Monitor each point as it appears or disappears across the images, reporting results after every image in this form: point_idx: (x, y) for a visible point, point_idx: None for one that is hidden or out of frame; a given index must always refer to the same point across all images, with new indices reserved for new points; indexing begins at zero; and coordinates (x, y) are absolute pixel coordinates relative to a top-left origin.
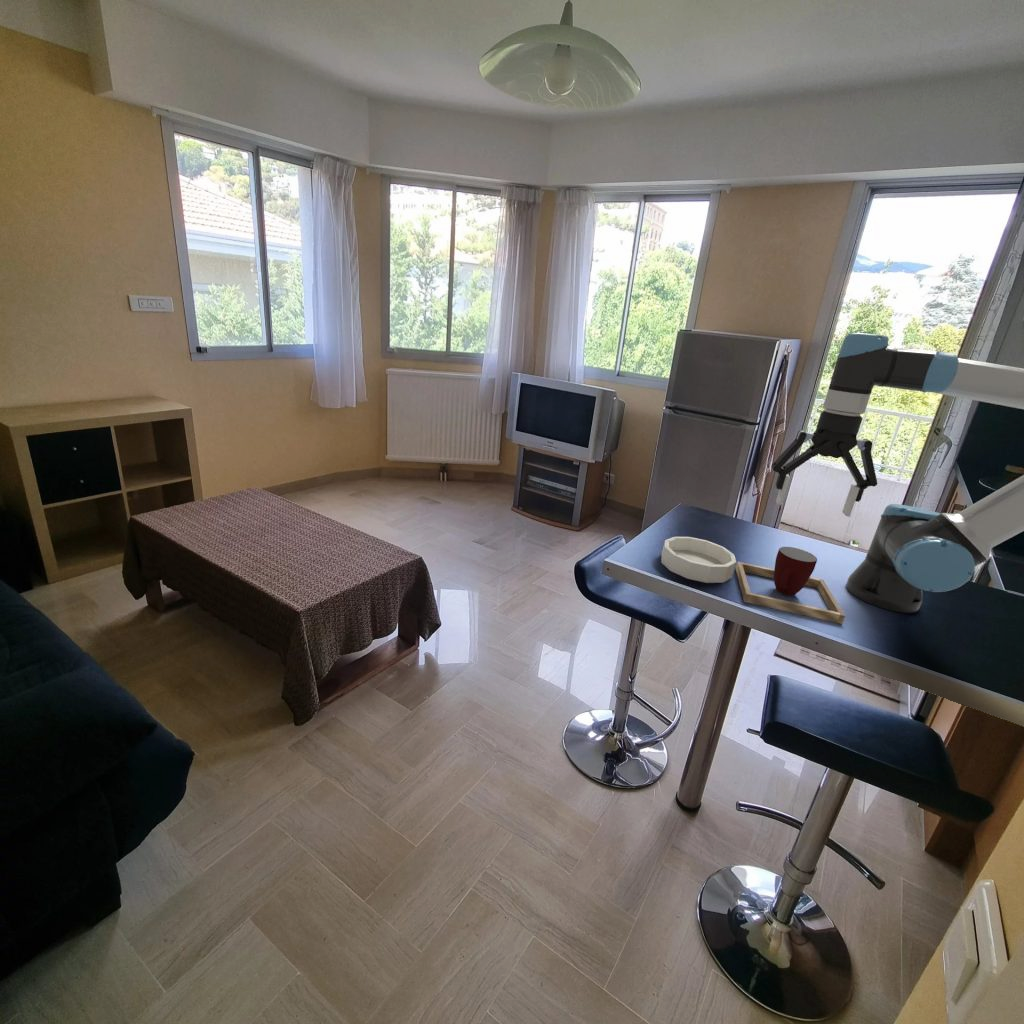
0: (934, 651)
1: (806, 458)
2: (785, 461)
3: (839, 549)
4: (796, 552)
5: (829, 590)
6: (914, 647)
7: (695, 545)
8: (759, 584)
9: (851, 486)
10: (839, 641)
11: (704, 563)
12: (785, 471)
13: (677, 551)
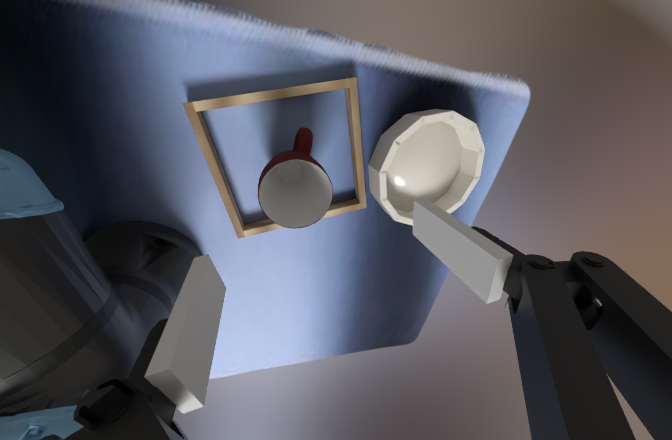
0: (2, 96)
1: (580, 400)
2: (632, 308)
3: (229, 369)
4: (296, 223)
5: (224, 202)
6: (43, 87)
7: None
8: (328, 170)
9: (202, 389)
10: (179, 7)
11: (408, 177)
12: (546, 271)
13: (442, 191)
